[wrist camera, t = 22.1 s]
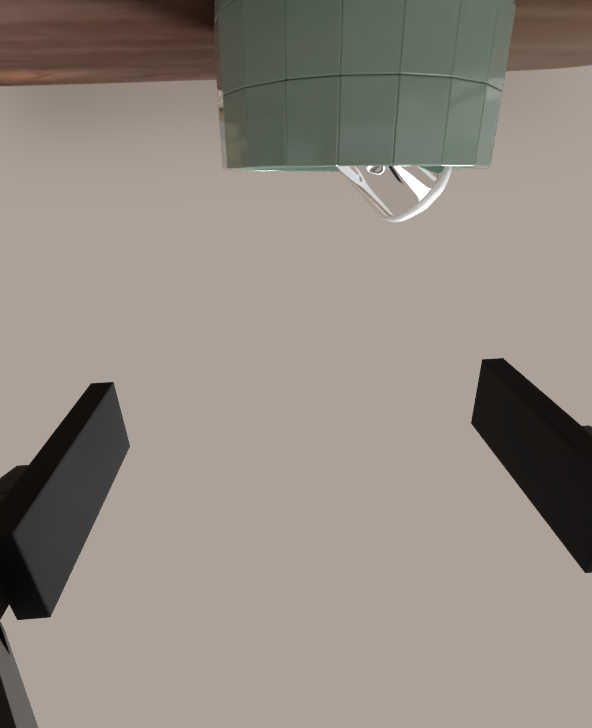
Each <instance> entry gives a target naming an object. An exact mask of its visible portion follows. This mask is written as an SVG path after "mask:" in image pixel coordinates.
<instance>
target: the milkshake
mask: <svg viewBox="0 0 592 728" xmlns="http://www.w3.org/2000/svg"><path fill="white" fill-rule="evenodd" d="M337 168H338V169H339V171H340V172H341V173H342V174H343V175H344V176H345V177H346V178H347V179H348V180H349V182H350V183H351V184H352V185H353V187H354V188H355V189H356V190H357V191H358V192H359V193H360V194H361V195H362V196H363V198H364V199H365V200H366V201H367V202H368V203H369V204H370V205H371V206H372V207H373V209H374V210H375V211H376V212H377V213H378V214H379V215H380V216H381V217H382V218H383V219H385V220H387V221H390V222H400V221H404V220H407V219H409V218H411V217H412V216H414V215H416V214H418V213H420V212H422V211H424V210H425V209H426V208H428V206H430V205H431V203H432V202H433V201H434V200H435V199H436V198H437V197H438V196H439V195H440V194H441V193H442V191H443V190H444V188H445V186H446V184H447V181H448V179H449V176H450V173H451V170H452V166H337Z"/></svg>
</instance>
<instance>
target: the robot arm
mask: <svg viewBox="0 0 592 728" xmlns="http://www.w3.org/2000/svg"><path fill="white" fill-rule="evenodd" d="M471 424H472V425H473V426H474V428H475V429H476V430H477V432H478V433H479V434H480V436H481V437H482V438H483V439H484V441H485V442H486V443H487V445H488V446H489V447H490V449H491V450H492V451H493V453H494V454H495V455H496V456H497V458H498V459H499V460H500V462H501V463H502V464H503V466H504V467H505V468H506V470H507V471H508V472H509V474H510V475H511V476H512V477H513V479H514V480H515V481H516V483H517V484H518V485H519V487H520V488H521V489H522V491H523V492H524V493H525V495H526V496H527V497H528V498H529V500H530V501H531V502H532V504H533V505H534V506H535V508H536V509H537V510H538V512H539V513H540V514H541V516H542V517H543V518H544V519H545V521H546V522H547V523H548V525H549V526H550V527H551V529H552V530H553V531H554V533H555V534H556V535H557V537H558V538H559V539H560V540H561V542H562V543H563V544H564V546H565V547H566V548H567V550H568V551H569V552H570V554H571V555H572V556H573V558H574V559H575V560H576V561H577V563H578V564H579V566H580V567H581V568H582V569H583V571H584V572H585V573H591V572H592V427H591V426H581V425H580V424H579V423H577V422H576V421H575V420H574V419H573V418H572V417H571V416H569V415H568V414H567V413H566V412H565V411H563V410H562V409H561V408H560V407H559V406H558V405H556V404H555V403H554V402H553V401H552V400H551V399H550V398H549V397H547V396H546V395H545V394H544V393H543V392H542V391H540V390H539V389H538V388H537V387H536V386H535V385H533V384H532V383H531V382H530V381H529V380H528V379H526V378H525V377H524V376H523V375H522V374H521V373H520V372H518V371H517V370H516V369H515V368H514V367H513V366H511V365H510V364H509V363H508V362H507V361H506V360H504V359H503V358H500V359H483V360H482V364H481V370H480V376H479V382H478V387H477V392H476V398H475V404H474V410H473V416H472V422H471ZM129 447H130V444H129V441H128V437H127V433H126V429H125V425H124V421H123V417H122V413H121V409H120V406H119V402H118V398H117V394H116V390H115V387H114V382H109V383H108V382H107V383H91V384H90V386H89V387H88V388H87V390H86V391H85V392H84V393H83V395H82V396H81V398H80V399H79V400H78V401H77V403H76V404H75V405H74V407H73V408H72V409H71V411H70V412H69V413H68V415H67V416H66V417H65V418H64V420H63V421H62V422H61V424H60V425H59V427H58V428H57V429H56V430H55V432H54V433H53V434H52V435H51V437H50V438H49V440H48V441H47V442H46V443H45V445H44V446H43V447H42V449H41V450H40V451H39V453H38V454H37V455H36V456H35V458H34V459H33V460H32V462H31V463H30V465H21V466H16V467H15V468H13V469H12V470H11V471H9V472H8V473H7V474H5V475H4V476H3V477H1V478H0V619H1V618H2V616H3V614H4V612H5V610H6V609H7V607H8V605H10V607H11V608H12V610H13V612H14V614H15V616H16V618H17V620H23V619H35V618H47V617H51V614H52V613H53V610H54V608H55V606H56V604H57V602H58V600H59V598H60V595H61V593H62V591H63V589H64V587H65V585H66V582H67V580H68V578H69V576H70V574H71V572H72V570H73V567H74V565H75V563H76V561H77V559H78V556H79V555H80V552H81V550H82V548H83V546H84V544H85V542H86V540H87V537H88V535H89V533H90V531H91V529H92V527H93V524H94V522H95V520H96V518H97V516H98V514H99V512H100V509H101V507H102V505H103V503H104V501H105V499H106V496H107V494H108V492H109V490H110V488H111V486H112V484H113V482H114V479H115V477H116V475H117V473H118V471H119V469H120V466H121V464H122V462H123V460H124V458H125V456H126V454H127V451H128V449H129ZM0 728H38V726H37V723H36V720H35V717H34V714H33V711H32V708H31V706H30V702H29V699H28V697H27V694H26V691H25V688H24V685H23V682H22V679H21V676H20V674H19V670H18V668H17V665H16V662H15V659H14V656H13V653H12V650H11V647H10V644H9V642H8V639H7V636H6V633H5V630H4V628H3V626H2V624H1V622H0Z"/></svg>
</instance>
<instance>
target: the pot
mask: <svg viewBox="0 0 592 728" xmlns="http://www.w3.org/2000/svg"><path fill="white" fill-rule="evenodd" d="M515 4H516V0H215V3H214V21H215V25H214V29H213V33H214V48H215V62H216V77H217V92H218V102H219V104H218V107H219V122H220V137H221V152H222V167H223V170H230V171H265V172H267V171H268V172H275V171H276V172H340V171H339V169H338V168H337V166H452V170H461V169H481V168H489V167H490V165H491V160H492V153H493V147H494V141H495V135H496V127H497V122H498V115H499V109H500V103H501V97H502V90H503V85H504V78H505V72H506V66H507V60H508V53H509V47H510V41H511V34H512V28H513V22H514V16H515V9H516V5H515Z"/></svg>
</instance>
